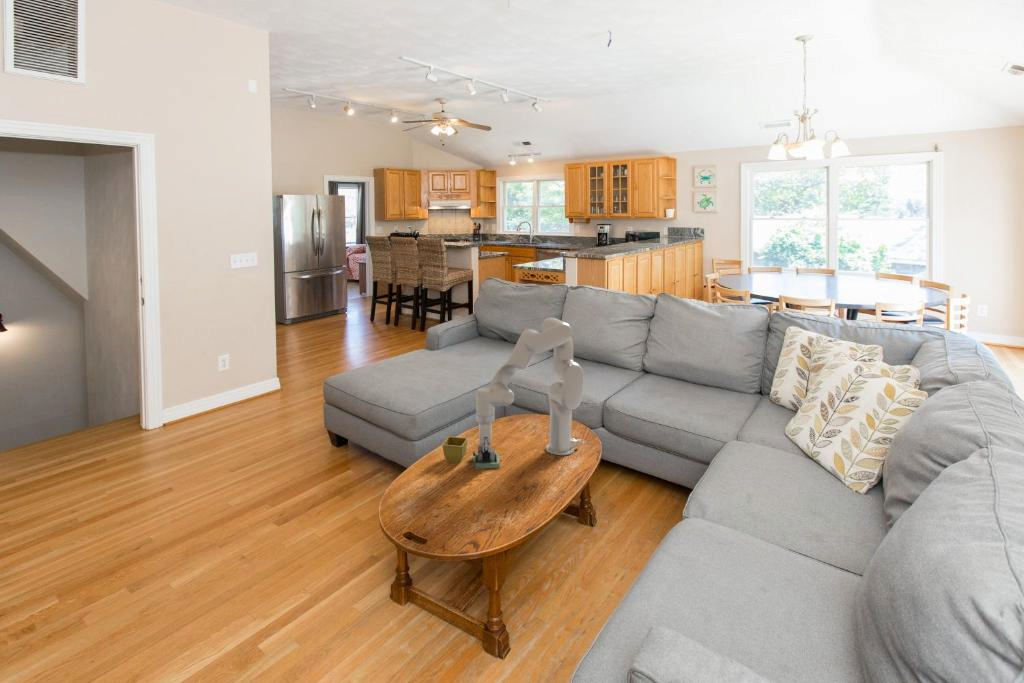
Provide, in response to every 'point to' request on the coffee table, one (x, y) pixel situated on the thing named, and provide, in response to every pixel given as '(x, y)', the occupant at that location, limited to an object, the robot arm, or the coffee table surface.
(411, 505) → the coffee table surface
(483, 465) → the frame
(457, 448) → the flower pot
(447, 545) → the coffee table surface
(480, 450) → the chute block
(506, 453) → the coffee table surface
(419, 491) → the coffee table surface
